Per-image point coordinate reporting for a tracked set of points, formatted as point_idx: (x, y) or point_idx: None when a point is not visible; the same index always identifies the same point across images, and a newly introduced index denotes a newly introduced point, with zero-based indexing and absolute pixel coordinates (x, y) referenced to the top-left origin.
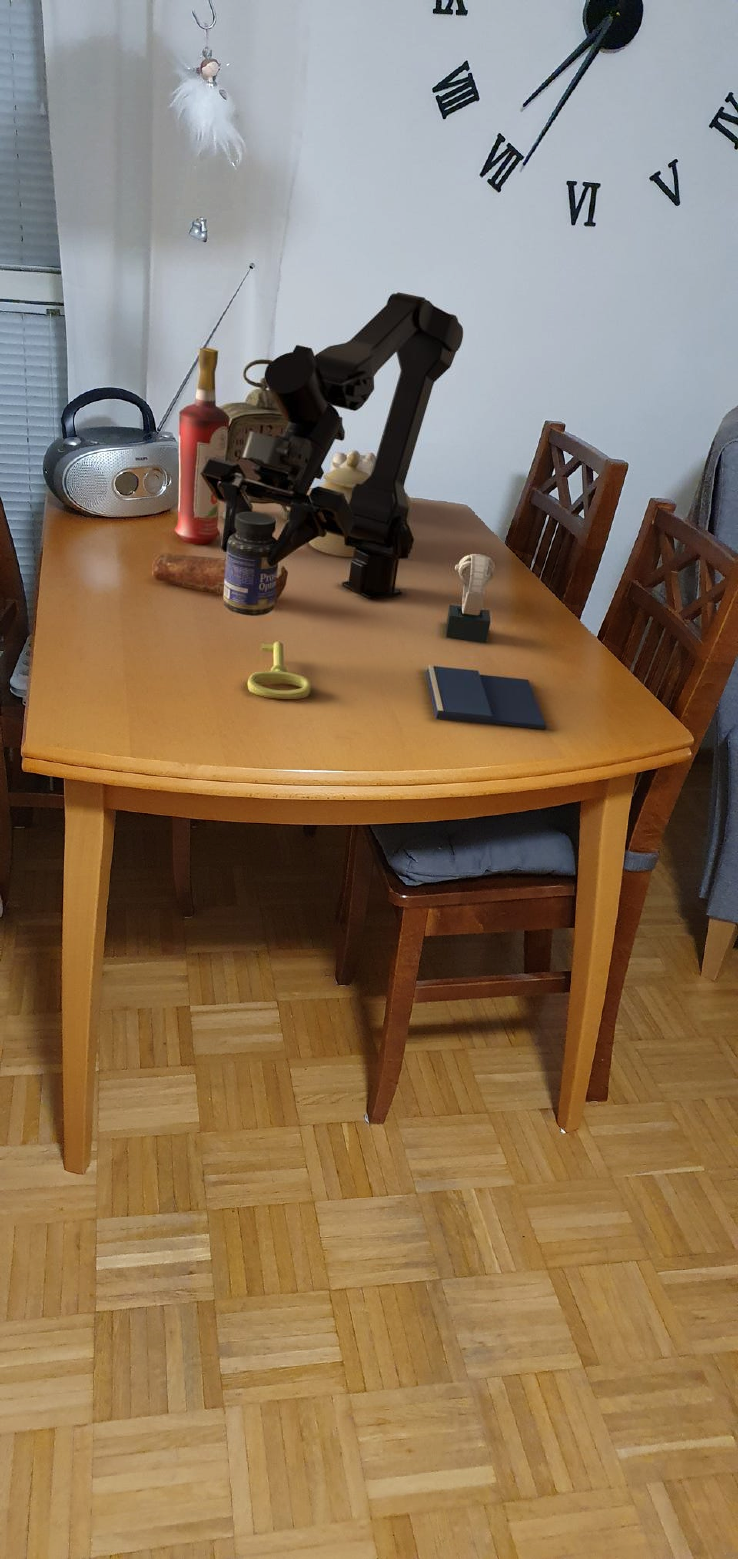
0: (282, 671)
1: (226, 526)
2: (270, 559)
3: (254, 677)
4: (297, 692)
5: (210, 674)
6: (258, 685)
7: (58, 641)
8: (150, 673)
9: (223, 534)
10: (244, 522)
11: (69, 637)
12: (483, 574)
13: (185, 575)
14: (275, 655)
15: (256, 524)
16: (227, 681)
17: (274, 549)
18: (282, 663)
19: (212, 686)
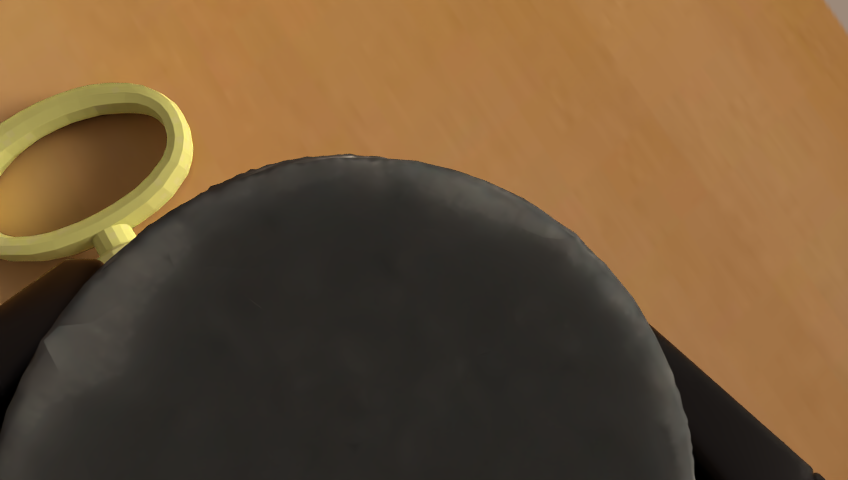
0: (98, 245)
1: (716, 412)
2: (61, 268)
3: (167, 138)
4: None
5: (349, 143)
6: (126, 97)
7: (826, 56)
8: (499, 27)
9: (669, 347)
10: (395, 163)
11: (825, 101)
12: None
13: None
14: None
15: (182, 204)
16: (273, 130)
17: (15, 336)
18: None
19: (292, 64)
